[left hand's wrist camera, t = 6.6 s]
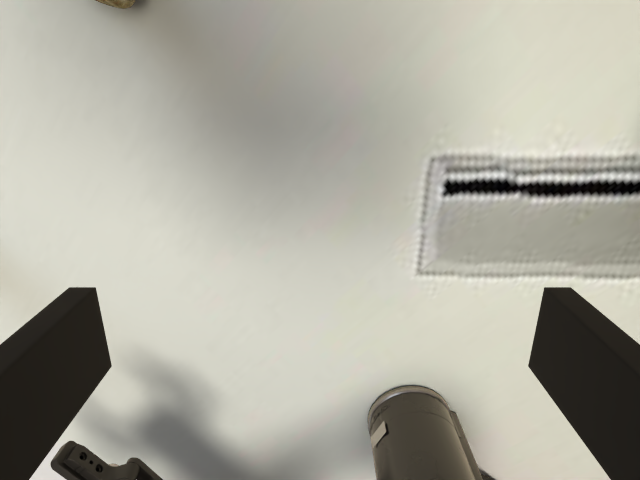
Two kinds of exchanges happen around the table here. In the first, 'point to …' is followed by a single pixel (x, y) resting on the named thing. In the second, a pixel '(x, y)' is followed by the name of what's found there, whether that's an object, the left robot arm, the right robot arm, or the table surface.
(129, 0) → the sculpture
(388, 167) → the table surface
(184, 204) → the table surface
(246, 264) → the table surface
